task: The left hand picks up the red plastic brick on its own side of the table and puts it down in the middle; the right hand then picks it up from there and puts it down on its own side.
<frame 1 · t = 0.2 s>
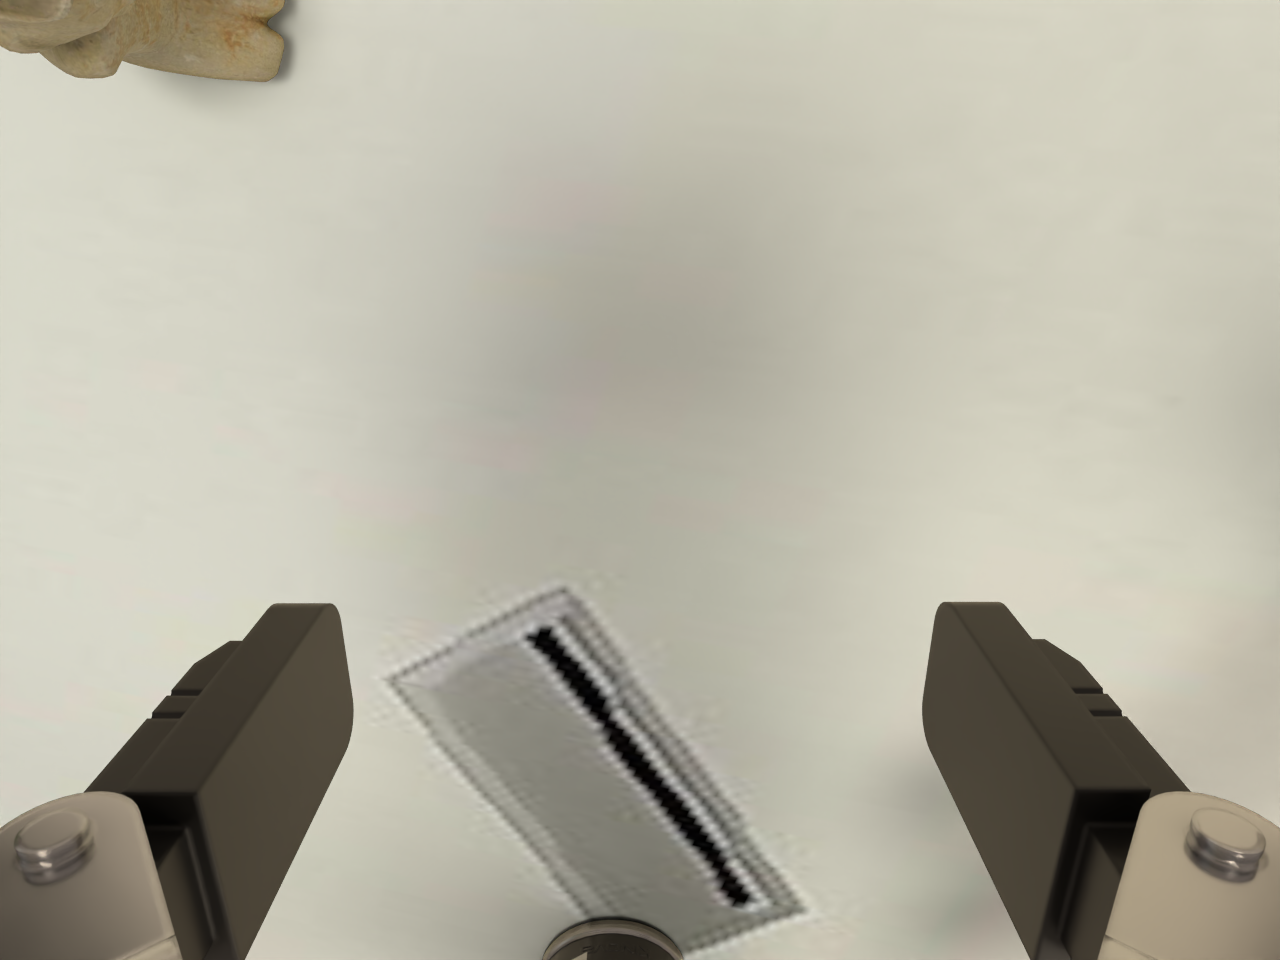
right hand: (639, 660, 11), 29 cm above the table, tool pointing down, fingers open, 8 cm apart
sculpture: (209, 13, 34), on the table
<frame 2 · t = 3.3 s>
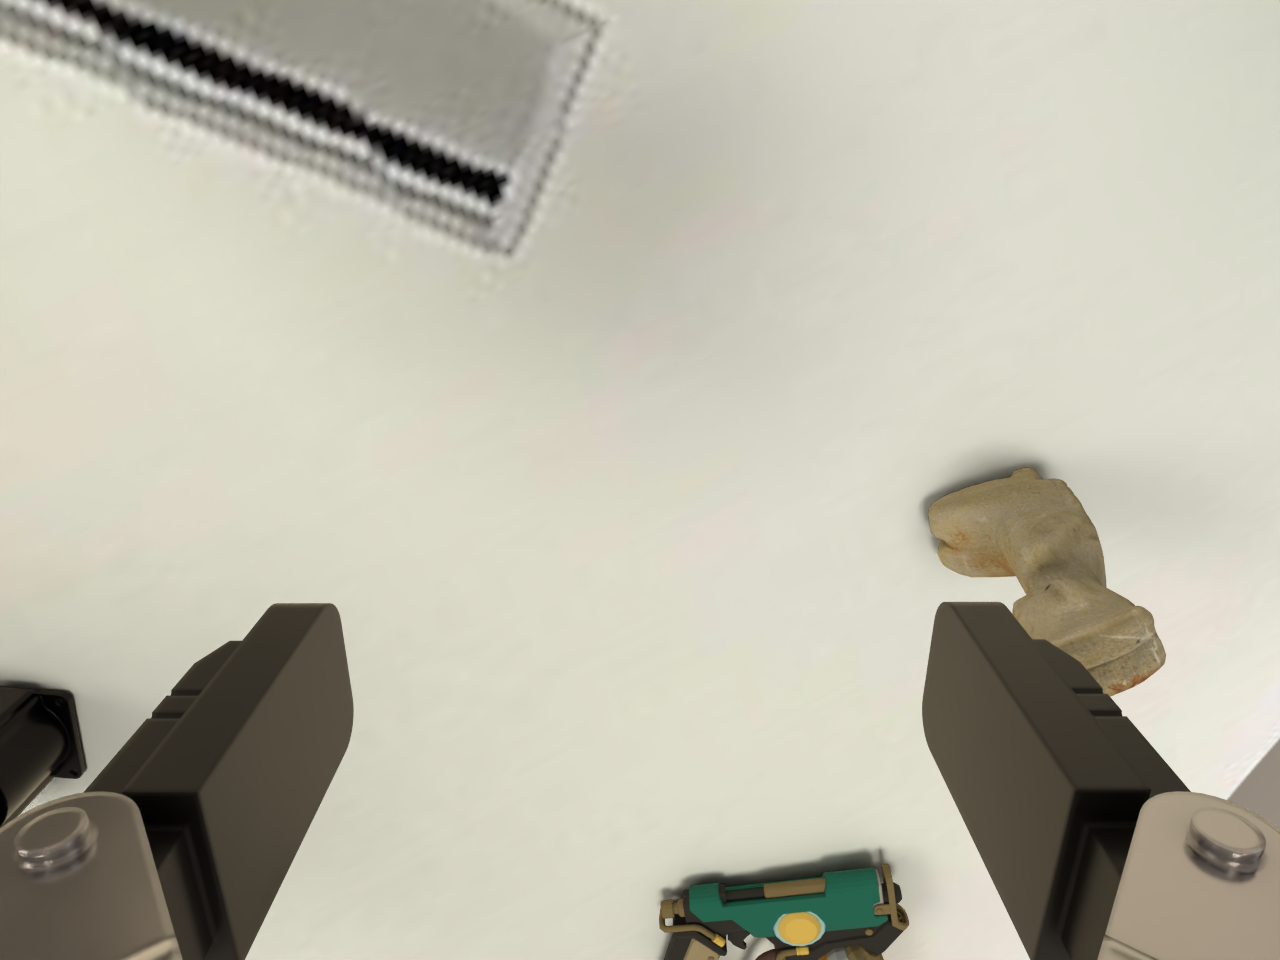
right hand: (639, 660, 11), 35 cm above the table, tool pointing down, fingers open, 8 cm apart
spray gun: (773, 921, 60), on the table
sculpture: (984, 506, 48), on the table
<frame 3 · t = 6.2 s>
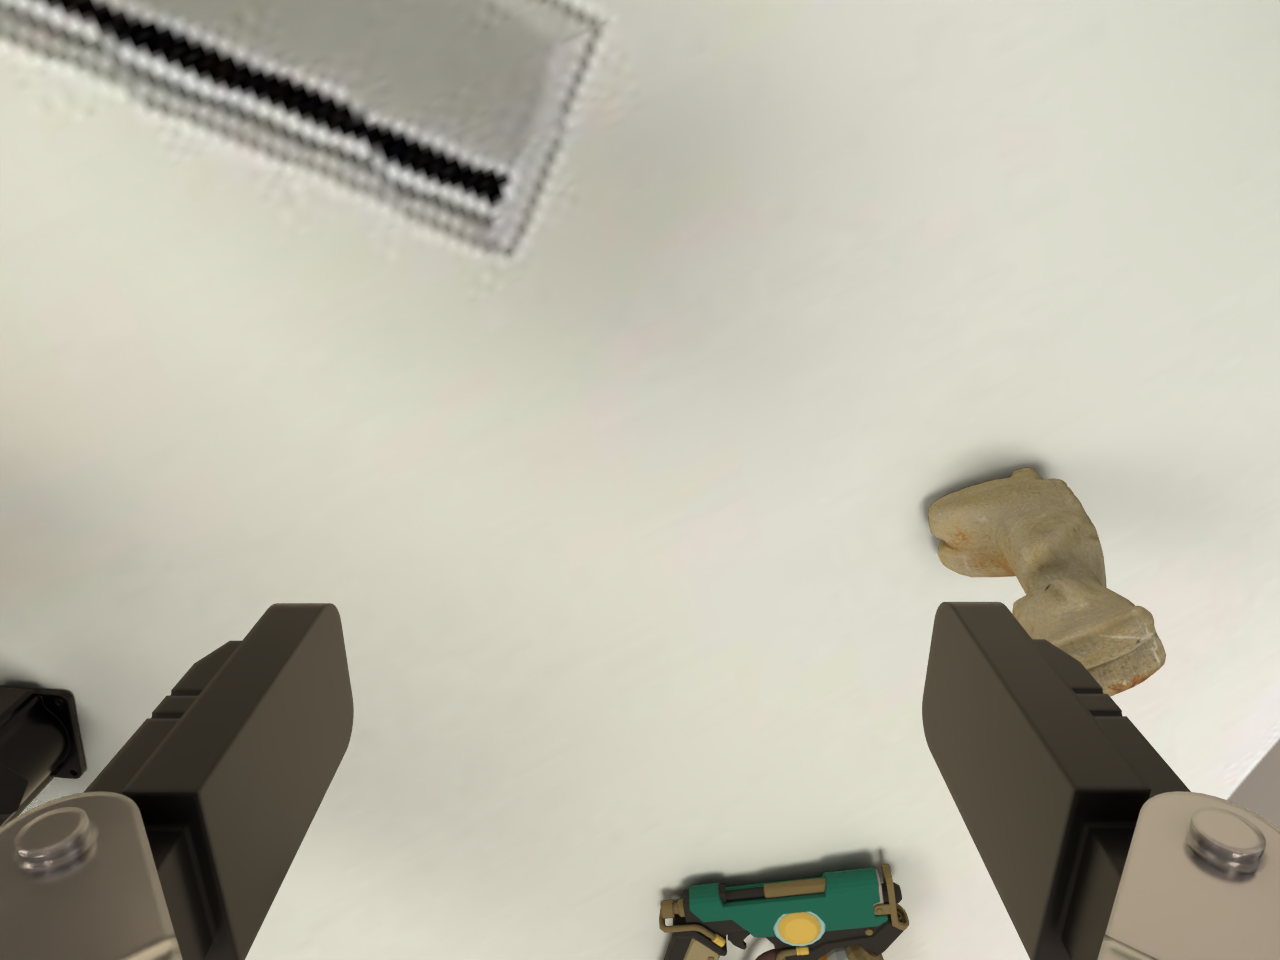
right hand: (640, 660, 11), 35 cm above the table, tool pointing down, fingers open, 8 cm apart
spray gun: (773, 921, 60), on the table
sculpture: (984, 506, 48), on the table
when the left hand's fingers open (2 cm above the table, at t = 9.2 s): brick drops 1 cm, on the table.
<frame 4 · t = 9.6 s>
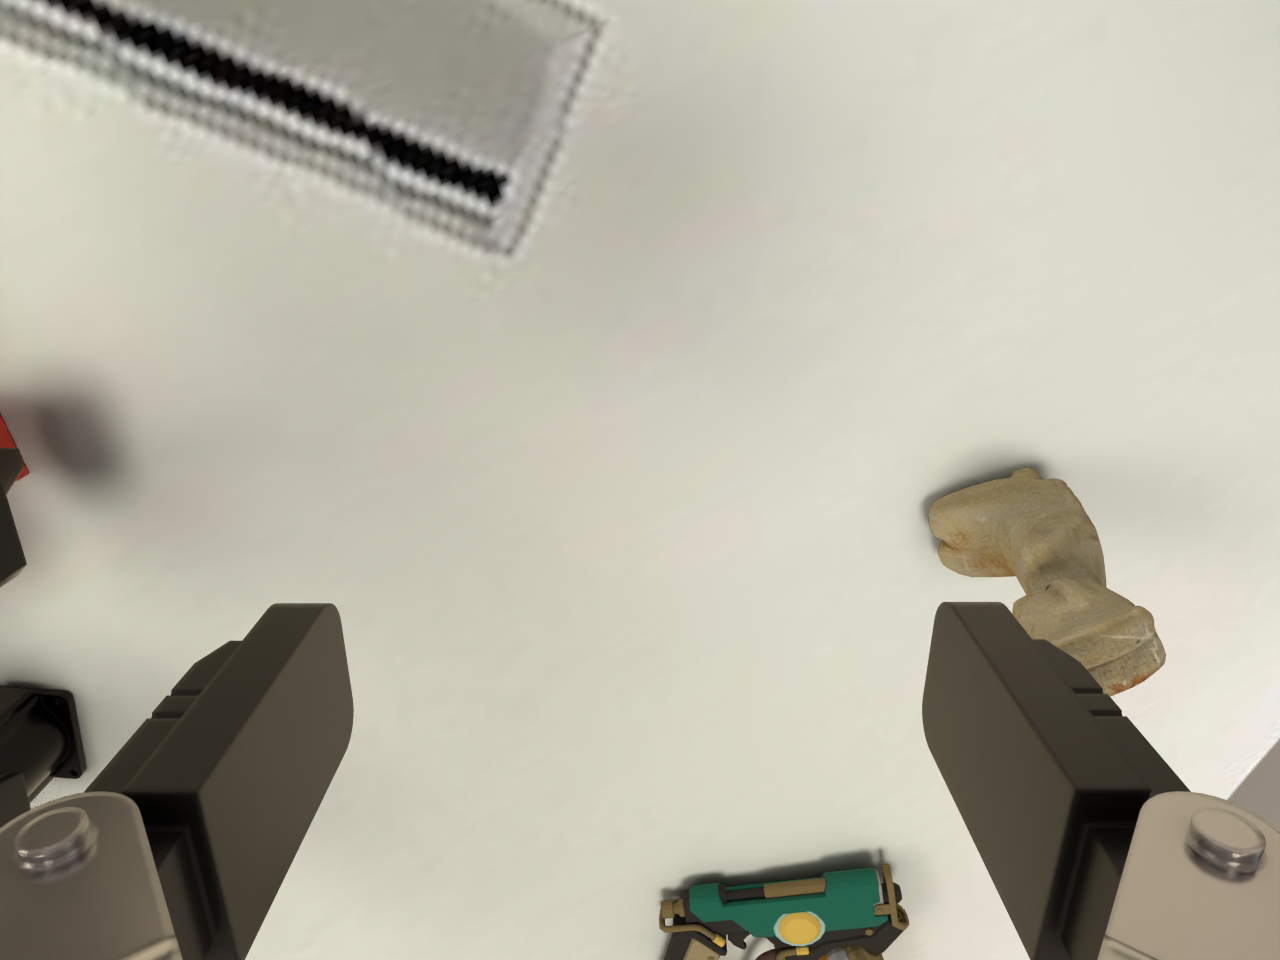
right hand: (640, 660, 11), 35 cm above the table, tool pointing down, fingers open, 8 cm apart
spray gun: (773, 921, 60), on the table
sculpture: (984, 506, 48), on the table
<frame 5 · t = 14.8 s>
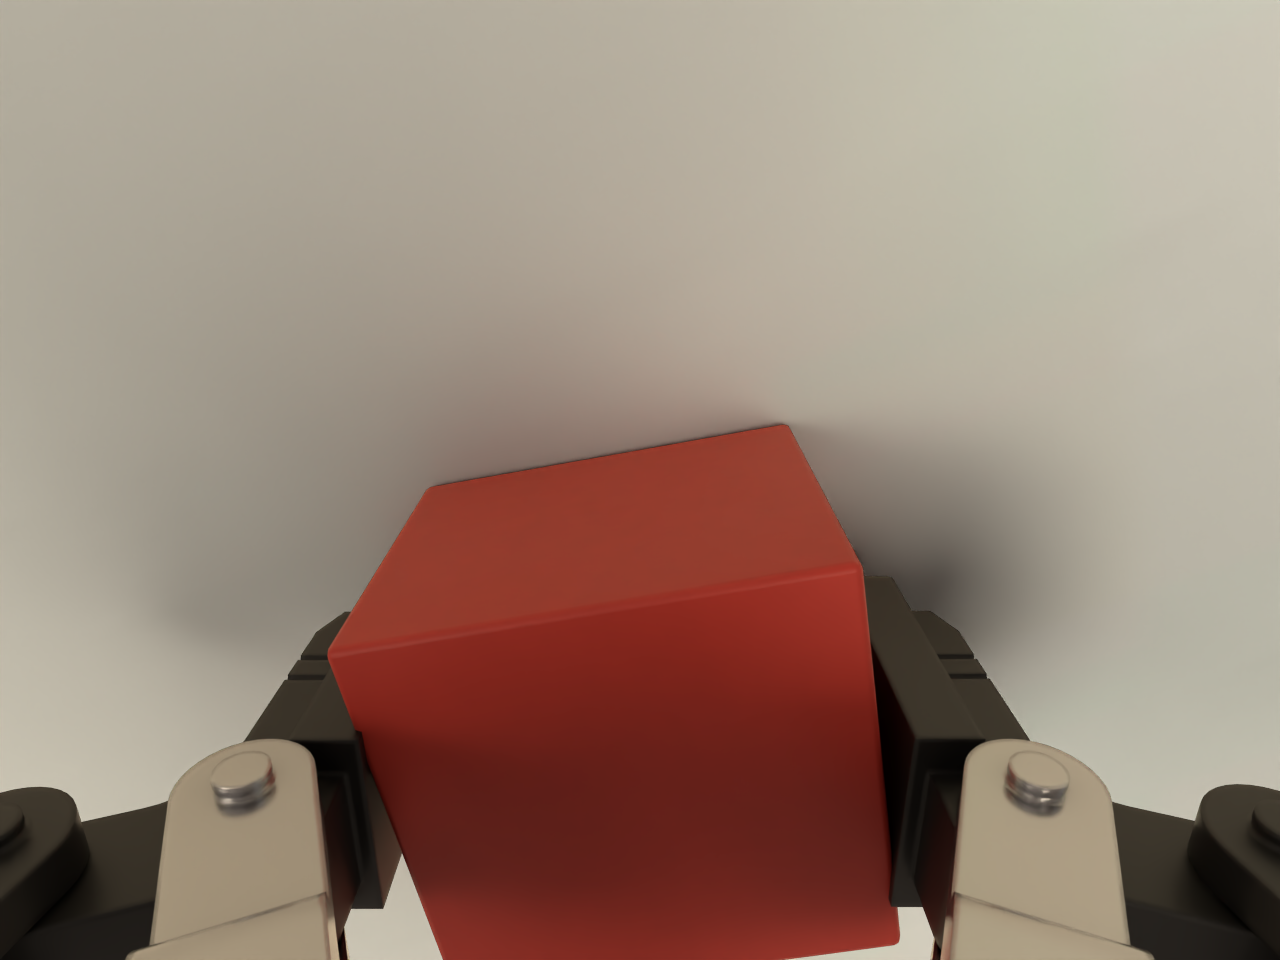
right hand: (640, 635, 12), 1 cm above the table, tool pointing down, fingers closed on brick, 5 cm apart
brick: (637, 605, 13), on the table, touching right hand
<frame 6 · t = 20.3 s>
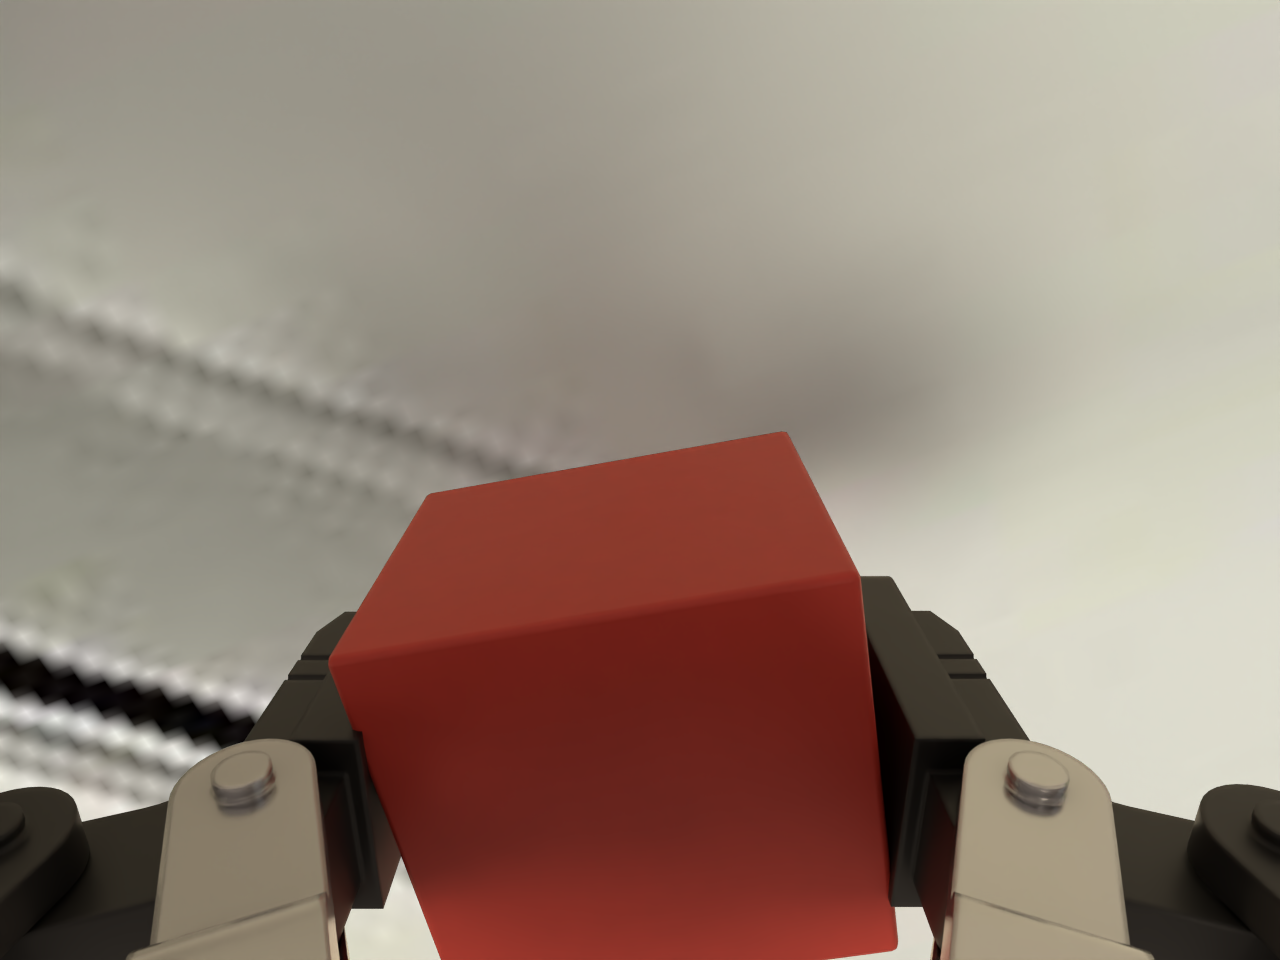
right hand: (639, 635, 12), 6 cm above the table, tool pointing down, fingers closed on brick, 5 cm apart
brick: (636, 611, 13), point 6 cm above the table, touching right hand
when the right hand's fingers open (2 cm above the table, at t = 25.7 s): brick drops 1 cm, on the table.
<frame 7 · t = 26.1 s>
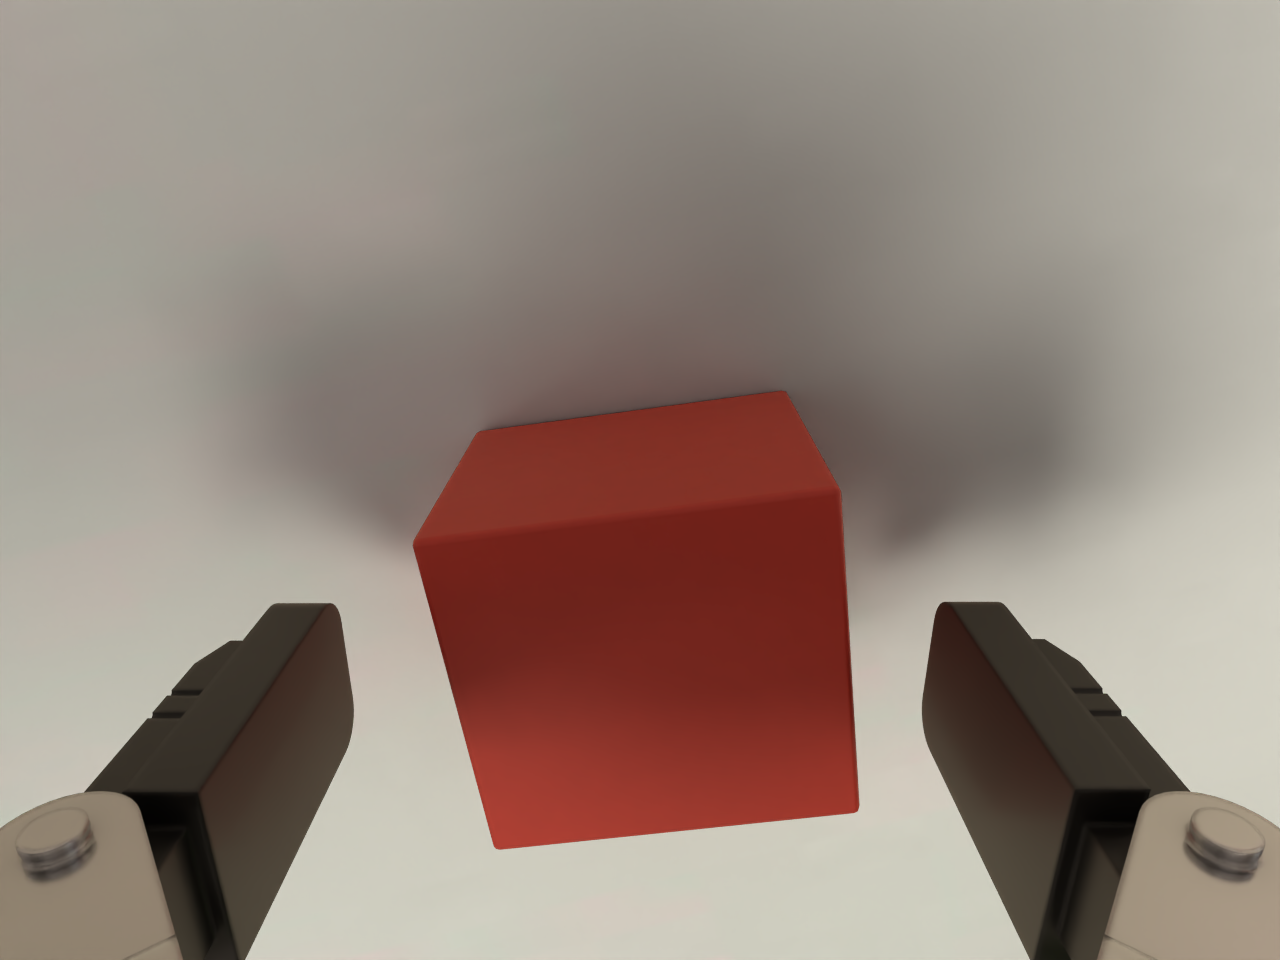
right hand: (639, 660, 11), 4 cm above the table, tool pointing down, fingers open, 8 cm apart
brick: (649, 543, 15), on the table
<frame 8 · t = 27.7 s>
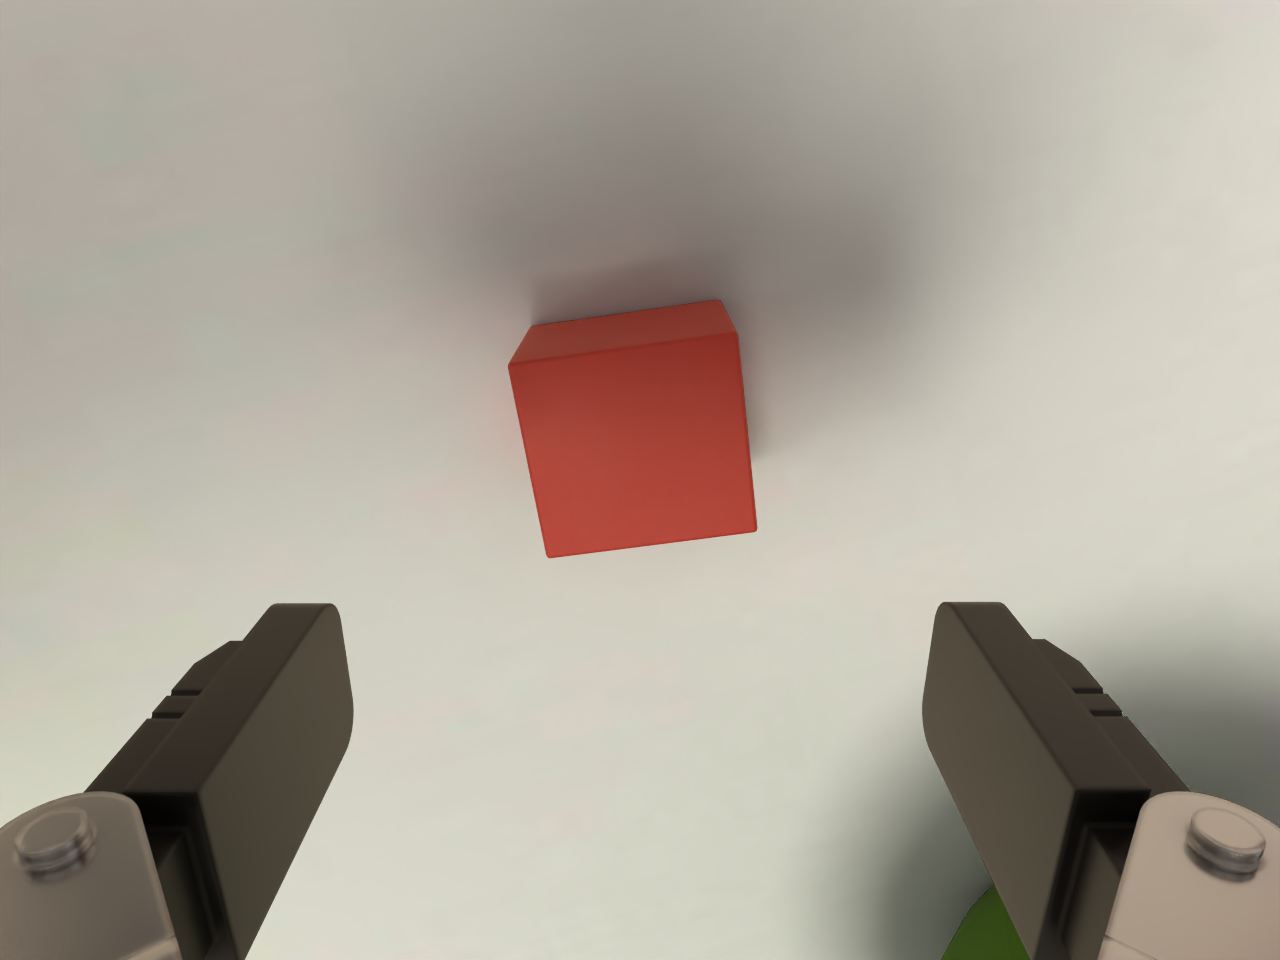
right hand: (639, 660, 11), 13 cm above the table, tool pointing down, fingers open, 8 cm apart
brick: (637, 400, 23), on the table
vase: (1066, 927, 31), on the table
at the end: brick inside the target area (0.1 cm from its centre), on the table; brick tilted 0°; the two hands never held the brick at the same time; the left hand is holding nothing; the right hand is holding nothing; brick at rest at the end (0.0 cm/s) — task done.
